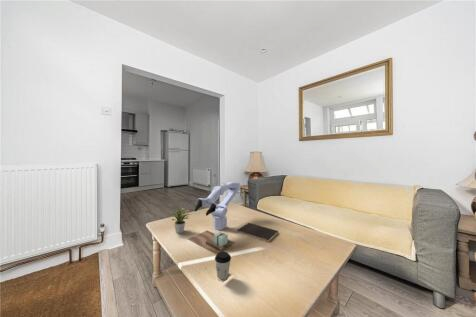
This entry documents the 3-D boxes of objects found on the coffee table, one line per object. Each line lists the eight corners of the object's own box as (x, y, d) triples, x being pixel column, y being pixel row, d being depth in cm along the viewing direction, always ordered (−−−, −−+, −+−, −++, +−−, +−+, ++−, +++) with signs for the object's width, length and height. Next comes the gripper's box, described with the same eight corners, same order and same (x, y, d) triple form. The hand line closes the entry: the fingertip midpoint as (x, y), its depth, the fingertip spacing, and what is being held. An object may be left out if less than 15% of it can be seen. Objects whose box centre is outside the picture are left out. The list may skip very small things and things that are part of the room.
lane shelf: (207, 231, 116) (207, 228, 116) (235, 244, 100) (235, 240, 100) (187, 240, 103) (187, 236, 103) (216, 256, 88) (216, 251, 88)
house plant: (174, 239, 104) (175, 213, 104) (163, 233, 113) (163, 208, 112) (193, 231, 116) (194, 207, 115) (181, 226, 124) (182, 204, 124)
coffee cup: (230, 272, 76) (231, 250, 76) (230, 283, 69) (231, 259, 69) (215, 272, 76) (215, 250, 76) (213, 283, 69) (214, 259, 69)
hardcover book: (268, 243, 103) (268, 239, 103) (237, 233, 116) (237, 229, 116) (277, 233, 117) (278, 230, 117) (249, 225, 130) (249, 222, 130)
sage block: (220, 241, 101) (220, 230, 101) (227, 245, 97) (227, 233, 97) (213, 245, 97) (213, 233, 97) (221, 249, 93) (221, 236, 93)
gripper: (202, 190, 112) (190, 203, 100) (222, 197, 107) (211, 211, 96) (202, 198, 115) (190, 212, 104) (221, 205, 111) (211, 220, 99)
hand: (200, 212), depth 100 cm, fingers open, 7 cm apart
